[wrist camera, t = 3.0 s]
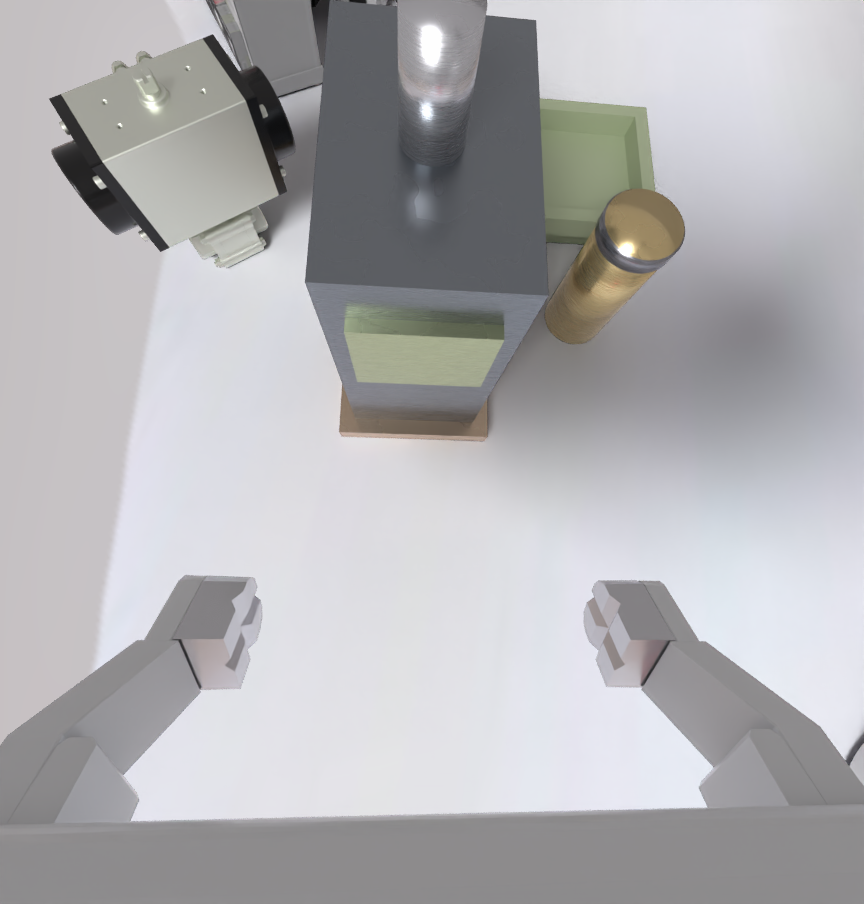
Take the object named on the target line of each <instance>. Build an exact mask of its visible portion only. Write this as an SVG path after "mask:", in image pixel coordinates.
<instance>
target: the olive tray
mask: <svg viewBox="0 0 864 904" xmlns="http://www.w3.org/2000/svg"><path fill="white" fill-rule="evenodd" d="M540 119H541V141H542V163H543V185H544V208H545V230H546V242H552V243H568V244H583V245H584V244H585V243H586V241H587V239H588V238H589V236H590V234H591V233H592V231H593V230H594V228H595V226H596V223H597V220H598V218H599V217H600V215H601V213H602V212H603V210H604V208H605V207H606V205H607V203H608V202H609V201H610V200H611V198H612V197H614V196H615V195H616V194H618V193H620V192H622V191H625V190H628V189H635V188H637V189H648V190H652V191H655V184H654V175H653V166H652V157H651V147H650V138H649V129H648V120H647V111H646V108H645V107H633V106H622V105H610V104H598V103H587V102H575V101H564V100H552V99H540Z"/></svg>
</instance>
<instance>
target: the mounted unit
mask: <svg viewBox="0 0 864 904" xmlns="http://www.w3.org/2000/svg"><path fill="white" fill-rule="evenodd" d="M486 11H487V0H397V7H396V6H386V5H375V4H365V3H355V2H345V1H335V0H330V2H329V13H328V25H327V36H326V48H325V59H324V71H323V82H322V94H321V105H320V117H319V128H318V140H317V151H316V163H315V174H314V186H313V197H312V209H311V220H310V232H309V243H308V255H307V266H306V278H305V283H306V286H307V289H308V291H309V294H310V297H311V300H312V302H313V305H314V308H315V310H316V313H317V316H318V319H319V321H320V324H321V327H322V329H323V332H324V335H325V338H326V340H327V343H328V346H329V348H330V351H331V354H332V357H333V359H334V362H335V365H336V367H337V370H338V373H339V376H340V378H341V381H342V397H341V413H340V428H339V432H340V434H341V436H343V437H374V438H405V439H436V440H467V441H485V439H486V438H487V398H488V396H489V395H490V393H491V391H492V390H493V388H494V386H495V385H496V383H497V381H498V380H499V378H500V376H501V374H502V373H503V371H504V369H505V368H506V366H507V364H508V363H509V361H510V359H511V358H512V356H513V354H514V353H515V351H516V349H517V348H518V346H519V344H520V343H521V341H522V339H523V338H524V336H525V334H526V333H527V331H528V329H529V328H530V326H531V324H532V323H533V321H534V319H535V318H536V316H537V314H538V313H539V311H540V309H541V308H542V306H543V304H544V302H545V301H546V299H547V297H548V274H547V252H546V230H545V208H544V185H543V163H542V141H541V119H540V97H539V75H538V53H537V31H536V20H528V19H517V18H507V17H497V16H487V15H486Z"/></svg>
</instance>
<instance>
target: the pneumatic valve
mask: <svg viewBox="0 0 864 904" xmlns="http://www.w3.org/2000/svg"><path fill="white" fill-rule="evenodd" d="M136 60H137V65H134V66H131V67H129V68H128V67H127V66H126V65H125V64H124V63H123V62H121V61H115V62H113V64H112V72H113V74H111V75H108V76H106V77H103V78H101V79H98V80H96V81H93V82H91V83H88V84H85V85H83V86H80V87H78V88H75V89H73V90H70V91H68V92H65V93H63V94H60V95H58V96H55V97H52V98H50V101H51V103H52V105H53V106H54V108H55V109H56V111H57V113H58V114H59V116H60V118H61V119H62V121H61V122H59V124H60V126H61V127H62V128H63V130H64V131H65V132H66V134H68V135H70V134H71V136H72V137H73V139H74V140H73V141H70V142H68V143H65V144H63V145H60V146H58V147H56V148H53V149H52V151H51V152H52V155H53V157H54V159H55V161H56V162H57V164H58V166H59V167H60V169H61V170H62V172H63V173H64V175H65V176H66V178H67V179H68V181H69V182H70V183H71V184H72V186H73V187H74V189H75V190H76V191H77V192H78V194H79V195H80V197H81V198H82V199H83V200H84V202H85V203H86V204H87V205H88V206H89V208H90V209H91V210H92V211H93V213H94V214H95V215H96V216H97V217H98V218H99V220H100V221H101V222H102V223H103V224H104V225H105V226H106V227H107V228H108V229H109V230H110V231H111V232H113V233H114V234H116V235H119V234H121V233H123V232H126V231H128V230H130V229H132V228H134V227H136V226H140V227H141V229H142V230H141V231H139V234H140V236H141V237H142V239H143V240H144V241H147V240H151V241H152V242H153V243H154V244H155V246H156V247H157V248H158V249H159V250H160V252H161V251H164V250H166V249H168V248H170V247H172V246H174V245H176V244H178V243H180V242H182V241H184V240H187V239H189V240H190V241H191V243H192V244H193V246H194V247H195V249H196V250H197V252H198V253H199V255H200V256H201V258H202V259H207V258H209V257H211V256H213V255H215V254H218V256H219V257H218V258H219V259H218V258H217V259H215V261H216V262H214V263H215V265H216V266H217V267H218V266H219V267H220V268H221V267H223V266H224V265H225V266H224V267H226V268H228V267H230V266H232V265H234V264H236V263H238V262H240V261H242V260H244V259H246V258H248V257H250V256H252V255H254V254H256V253H258V252H260V251H262V250H264V246H265V245H267V244H266V242H265V240H264V239H263V237H260V238H259V237H258V235H257V234H258V233H260V232H262V231H264V230H266V229H267V228H268V224H267V221H266V219H265V217H264V215H263V213H262V211H261V210H260V208H259V206H258V205H260V204H262V203H264V202H266V201H268V200H270V199H272V198H274V197H277V196H279V195H281V194H283V193H285V192H287V190H286V187H285V184H284V180H283V176H286V172H285V170H284V168H283V166H279V165H278V162H277V161H279V160H281V159H284V158H286V157H288V156H290V155H292V154H294V153H295V142H294V138H293V134H292V131H291V128H290V125H289V122H288V120H287V117H286V114H285V112H284V110H283V107H282V105H281V103H280V101H279V99H278V97H277V95H276V93H275V91H274V89H273V87H272V85H271V84H270V82H269V80H268V79H267V77H266V76H265V74H264V73H263V71H262V70H261V69H260V68H259V67H258V66H256V65H253V66H251V67H249V68H246V69H244V70H241V71H238V70H237V68H236V67H235V65H234V64H233V62H232V61H231V59H230V57H229V55H227V54H226V52H225V51H224V50H223V48H222V47H221V45H220V44H219V42H218V41H217V40H216V38H215V37H214V35H210V36H207V37H205V38H203V39H200V40H197V41H195V42H192V43H190V44H187V45H185V46H182V47H179V48H177V49H174V50H172V51H169V52H167V53H164V54H162V55H159V56H157V57H154V58H152V57H151V56H150V55H149V54H148V53H146V52H144V51H140V52H138V53H137V56H136Z"/></svg>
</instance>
